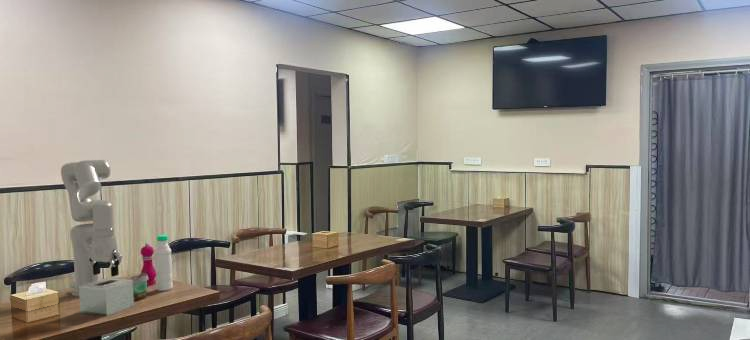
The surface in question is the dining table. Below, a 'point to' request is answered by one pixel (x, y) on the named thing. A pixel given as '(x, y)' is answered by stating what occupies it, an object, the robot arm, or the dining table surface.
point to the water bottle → (163, 264)
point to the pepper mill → (148, 264)
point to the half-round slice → (139, 286)
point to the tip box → (106, 296)
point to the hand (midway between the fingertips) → (105, 274)
